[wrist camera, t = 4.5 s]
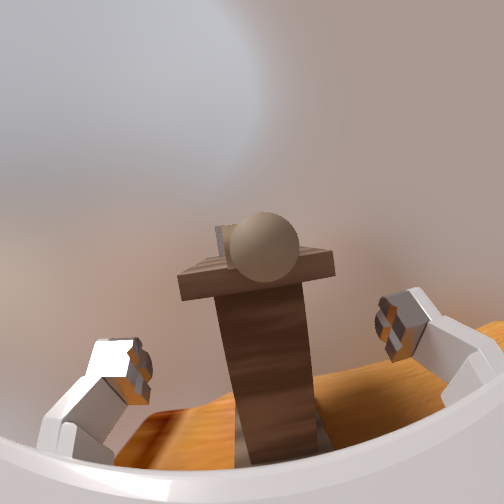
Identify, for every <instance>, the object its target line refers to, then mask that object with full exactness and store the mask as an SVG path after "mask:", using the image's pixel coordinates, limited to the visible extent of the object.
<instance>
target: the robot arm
mask: <svg viewBox="0 0 504 504" xmlns="http://www.w3.org/2000/svg"><path fill="white" fill-rule="evenodd" d="M378 306H379V307H380V310H379V311H378V313H377V314H376V317H375V329H376V333H377V335H378V337H379V339H380V340H382V341H384V342H385V343H386V345H385V350H386V352H387V354H388V356H389V358H390V360H391V362H392V363H394V362H397V361H400V360H403V359H406V358H409V357H412V356H413V357H412V358H413V359H414V360H416V361H417V362H419V363H420V364H421V365H423V366H424V367H426V368H427V369H428V370H430V371H431V372H432V373H434V374H435V375H436V376H438V377H439V378H441V379H442V380H443V381H445V382H446V383H447V384H448V386H447V387H446V388H445V390H444V391H443V392H442V394H441V399H442V401H443V403H444V405H445V407H446V408H444V409H442V410H440V411H438V412H436V413H434V414H432V415H430V416H428V417H426V418H424V419H421V420H419V421H417V422H415V423H413V424H410V425H408V426H406V427H403V428H401V429H398V430H396V431H393V432H391V433H388V434H386V435H383V436H380V437H378V438H375V439H372V440H369V441H366V442H363V443H360V444H357V445H354V446H350V447H347V448H344V449H340V450H337V451H333V452H329V453H325V454H321V455H317V456H313V457H308V458H304V459H299V460H294V461H289V462H283V463H277V464H271V465H264V466H257V467H248V468H238V469H226V470H208V471H166V470H148V469H136V468H127V467H118V466H114V453H113V451H112V450H110V449H109V448H107V447H106V446H104V445H103V442H104V441H105V439H106V438H107V436H108V435H109V433H110V431H111V430H112V429H113V427H114V426H115V424H116V423H117V421H118V420H119V418H120V417H121V415H122V414H123V412H124V411H125V410H126V408H127V405H149V398H150V390H151V388H150V387H149V385H148V384H147V383H148V382H149V381H150V380H151V378H152V373H153V368H152V361H151V358H150V356H149V354H148V353H147V352H146V351H144V350H142V343H141V341H140V340H139V338H135V337H134V338H111V339H98V340H97V341H96V343H95V346H94V349H93V352H92V355H91V359H90V362H89V365H88V369H87V372H86V376H85V377H81V378H80V379H79V380H78V381H77V382H76V383H75V384H74V385H73V386H72V387H71V388H70V390H69V391H68V392H67V393H66V394H65V395H64V396H63V397H62V398H61V399H60V400H59V401H58V402H57V403H56V404H55V405H54V406H53V407H52V408H51V409H50V411H49V412H48V413H47V414H46V415H45V416H44V417H43V421H42V425H41V429H40V433H39V438H38V442H37V446H36V448H33V447H30V446H27V445H24V444H21V443H18V442H15V441H13V440H10V439H8V438H5V437H2V436H0V504H504V353H503V352H502V350H501V349H500V347H499V346H498V344H497V343H496V342H495V340H493V339H491V338H489V337H487V336H485V335H483V334H481V333H479V332H478V331H476V330H474V329H471V328H470V327H468V326H465V325H463V324H462V323H460V322H458V321H456V320H454V319H451V318H449V317H447V316H442V315H441V314H440V312H439V311H438V310H437V309H436V307H435V306H434V305H433V303H432V302H431V301H430V299H429V298H428V297H427V296H426V294H425V293H424V292H423V291H422V289H421V288H419V287H415V288H411V289H408V290H404V291H400V292H397V293H393V294H389V295H386V296H382V297H381V298H380V300H379V304H378Z"/></svg>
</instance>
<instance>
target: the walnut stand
mask: <svg viewBox="0 0 504 504" xmlns="http://www.w3.org/2000/svg"><path fill="white" fill-rule="evenodd" d="M332 252H333V251H332V250H325V249H317V248H309V247H301V246H299V255H298V258H297V261H296V263H295V265H294V267H293V268H292V269H291V270H290V272H289V273H287V274H286V275H285V276H284V277H282V278H280V279H278V280H275V281H271V282H257V281H254V280H251V279H249V278H247V277H245V276H244V275H243V274H241V273H240V272H239V271H238V269H237V268H235V269H229V270H228V267H227V261H226V257H223V258H220V257H219V256H218V257H213V258H207V259H205V260H204V261H202V262H200V263H198V264H196V265H195V266H193V267H191V268H189V269H188V270H186V271H184V272H182V273H181V274H179V275H177V278H178V283H179V288H180V294H181V299H182V301H186V300H194V299H201V298H208V297H214V300H215V305H216V311H217V316H218V322H219V326H220V332H221V337H222V341H223V347H224V351H225V356H226V361H227V366H228V370H229V375H230V380H231V384H232V388H233V393H234V397H235V402H236V408H235V467H234V469H238V468H248V467H257V466H264V465H271V464H277V463H283V462H289V461H294V460H299V459H304V458H308V457H313V456H317V455H321V454H325V453H329V452H333V451H335V449H334V447H333V445H332V443H331V440H330V438H329V436H328V434H327V432H326V429H325V427H324V425H323V423H322V420H321V418H320V416H319V414H318V412H317V409H316V407H315V399H314V388H313V377H312V366H311V356H310V347H309V338H308V329H307V320H306V312H305V304H304V296H303V288H302V282H305V281H311V280H316V279H322V278H327V277H332V276H336V275H335V267H334V259H333V253H332Z"/></svg>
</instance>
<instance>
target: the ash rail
mask: <svg viewBox="0 0 504 504" xmlns="http://www.w3.org/2000/svg"><path fill="white" fill-rule="evenodd" d="M221 230H222V236H223V242H224V248H225V255H226V261H227V267H228V270H229V269H235V268H237V269H238V271H239V272H240V273H241V274H243V275H244V276H245V277H247V278H249V279H251V280H254V281H257V282H271V281H275V280H278V279H280V278H282V277H284V276H285V275H286V274H287V273H289V272H290V270H291V269H292V268H293V267H294V265H295V263H296V261H297V258H298V255H299V240H298V236H297V233H296V231H295V229H294V228H293V226H292V225H291V224H290V223H289V222H288V221H287V220H286V219H284V218H283V217H281V216H279V215H277V214H274V213H267V212H262V213H256V214H253V215H250V216H248V217H246V218H245V219H243V220H242V221H241V222H240V223H239V224H233V225H227V226H221Z"/></svg>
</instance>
